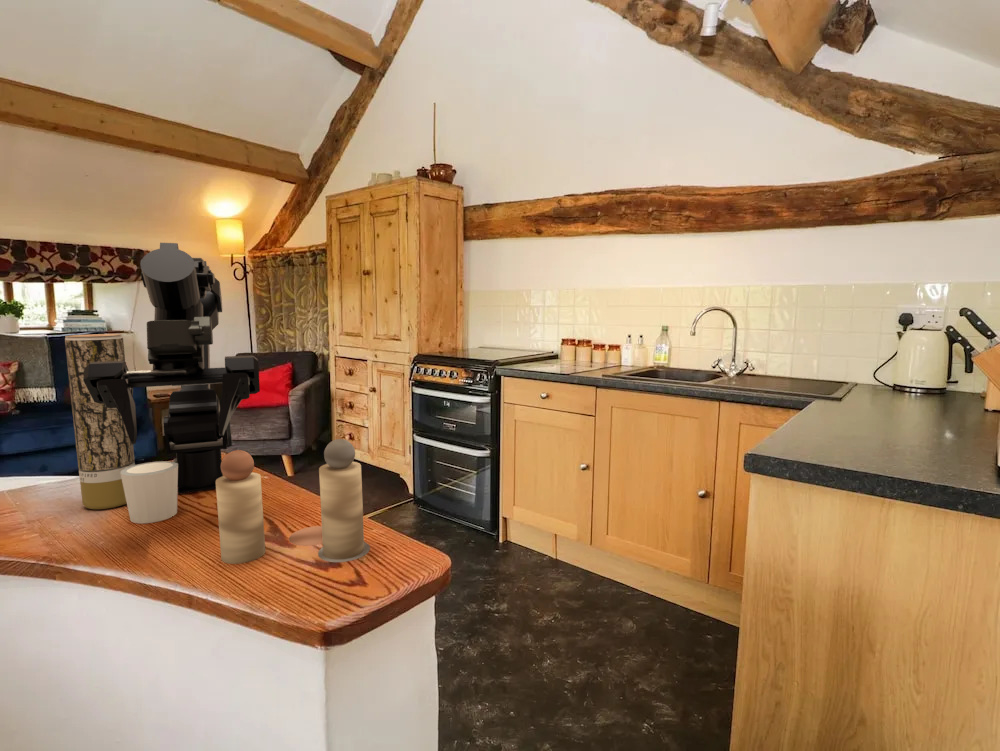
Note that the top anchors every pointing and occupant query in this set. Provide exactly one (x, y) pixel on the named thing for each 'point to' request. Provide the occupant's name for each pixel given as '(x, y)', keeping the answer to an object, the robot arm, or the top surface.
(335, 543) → the grey ball tube
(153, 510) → the white tapered cylinder
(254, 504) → the terracotta ball tube
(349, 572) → the top surface
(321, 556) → the board
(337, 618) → the top surface
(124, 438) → the paper tube
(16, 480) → the top surface
